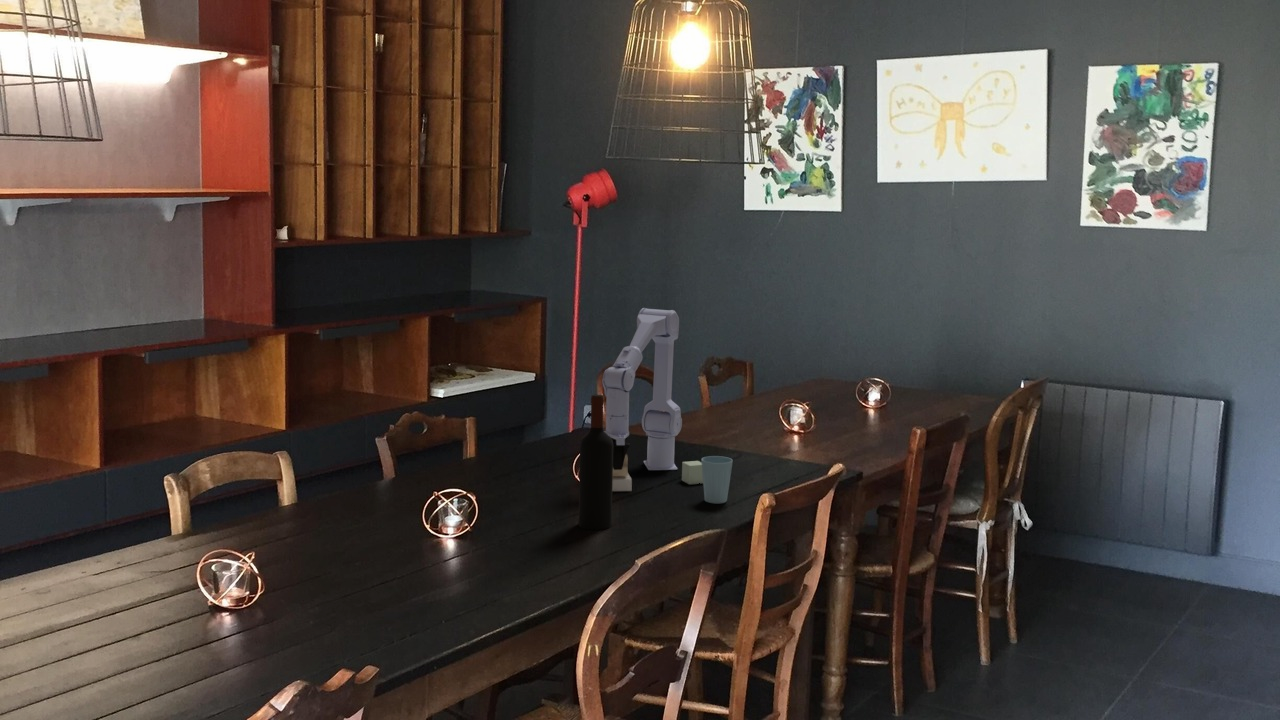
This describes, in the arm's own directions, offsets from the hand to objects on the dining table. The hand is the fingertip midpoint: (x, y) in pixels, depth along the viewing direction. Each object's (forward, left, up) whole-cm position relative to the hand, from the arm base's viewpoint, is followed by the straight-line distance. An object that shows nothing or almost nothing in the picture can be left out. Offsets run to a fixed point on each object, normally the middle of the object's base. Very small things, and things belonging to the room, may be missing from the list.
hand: (616, 467), depth 313 cm
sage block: (-5, +21, -6) cm, 22 cm away
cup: (+14, +23, -6) cm, 28 cm away
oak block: (0, 0, -2) cm, 2 cm away
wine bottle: (+33, -9, -6) cm, 35 cm away
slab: (0, 0, -5) cm, 5 cm away
